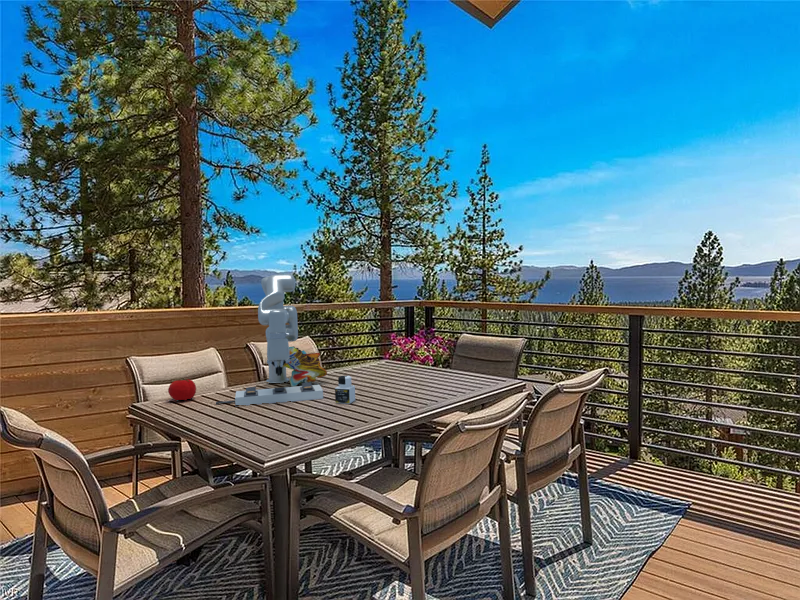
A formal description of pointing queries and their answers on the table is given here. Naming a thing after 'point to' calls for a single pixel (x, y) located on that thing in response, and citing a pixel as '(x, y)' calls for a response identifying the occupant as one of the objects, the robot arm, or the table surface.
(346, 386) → the medicine bottle
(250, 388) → the rocker
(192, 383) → the tomato
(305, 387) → the rocker
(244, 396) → the rocker switch panel
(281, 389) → the rocker middle
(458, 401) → the table surface
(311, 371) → the multicoloured irregular chunky piece
